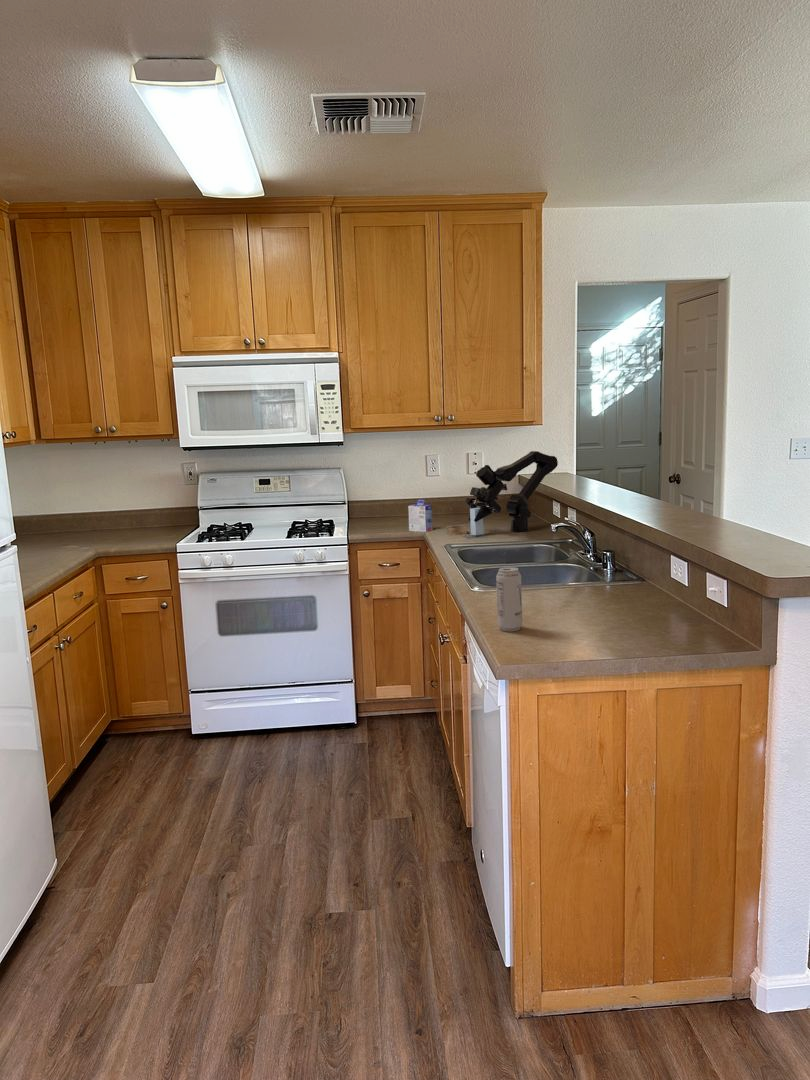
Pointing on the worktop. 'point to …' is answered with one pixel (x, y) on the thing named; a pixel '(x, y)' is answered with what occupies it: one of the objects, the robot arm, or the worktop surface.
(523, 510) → the robot arm
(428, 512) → the ink cartridge box
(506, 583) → the energy drink can
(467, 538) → the mat
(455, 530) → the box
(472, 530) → the pale blue rectangular block
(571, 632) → the worktop surface
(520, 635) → the worktop surface
